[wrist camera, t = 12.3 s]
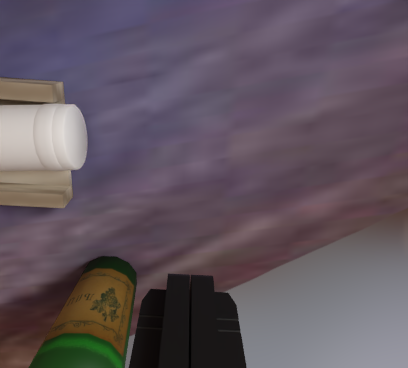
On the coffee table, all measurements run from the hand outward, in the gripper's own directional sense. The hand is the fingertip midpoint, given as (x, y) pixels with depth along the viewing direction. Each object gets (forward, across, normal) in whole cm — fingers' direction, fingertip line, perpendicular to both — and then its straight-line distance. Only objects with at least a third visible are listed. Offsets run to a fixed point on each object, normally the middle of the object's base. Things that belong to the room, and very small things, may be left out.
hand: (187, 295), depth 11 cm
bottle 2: (+34, +11, +28) cm, 46 cm away
